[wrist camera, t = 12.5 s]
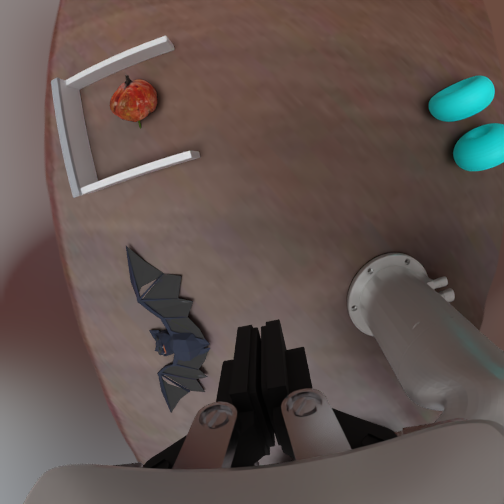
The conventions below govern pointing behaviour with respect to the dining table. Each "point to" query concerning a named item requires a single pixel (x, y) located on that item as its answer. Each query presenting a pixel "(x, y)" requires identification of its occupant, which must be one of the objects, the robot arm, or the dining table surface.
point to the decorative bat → (171, 329)
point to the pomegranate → (134, 100)
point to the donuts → (478, 139)
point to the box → (75, 127)
